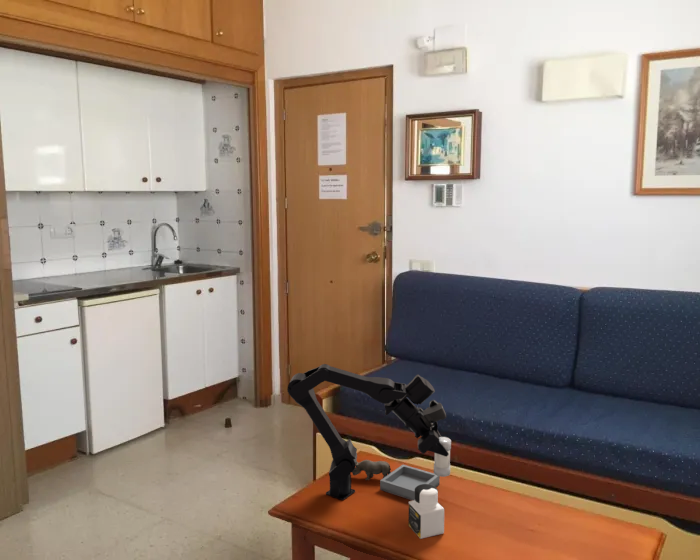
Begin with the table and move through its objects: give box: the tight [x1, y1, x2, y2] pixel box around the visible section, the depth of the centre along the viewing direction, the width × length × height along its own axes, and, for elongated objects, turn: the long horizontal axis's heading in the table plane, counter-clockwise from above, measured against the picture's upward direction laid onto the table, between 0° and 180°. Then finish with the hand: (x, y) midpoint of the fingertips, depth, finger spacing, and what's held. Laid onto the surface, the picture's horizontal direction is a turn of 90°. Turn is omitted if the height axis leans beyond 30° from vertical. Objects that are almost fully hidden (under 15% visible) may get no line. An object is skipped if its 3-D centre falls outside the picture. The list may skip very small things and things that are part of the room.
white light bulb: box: [433, 436, 452, 478], centre depth 186 cm, size 5×5×10 cm
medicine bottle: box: [408, 484, 445, 540], centre depth 170 cm, size 7×7×12 cm
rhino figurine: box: [351, 459, 392, 481], centre depth 200 cm, size 4×14×6 cm, turn 80°
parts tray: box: [379, 464, 441, 501], centre depth 194 cm, size 13×13×3 cm
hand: (447, 451), depth 186 cm, fingers closed on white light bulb, 5 cm apart
